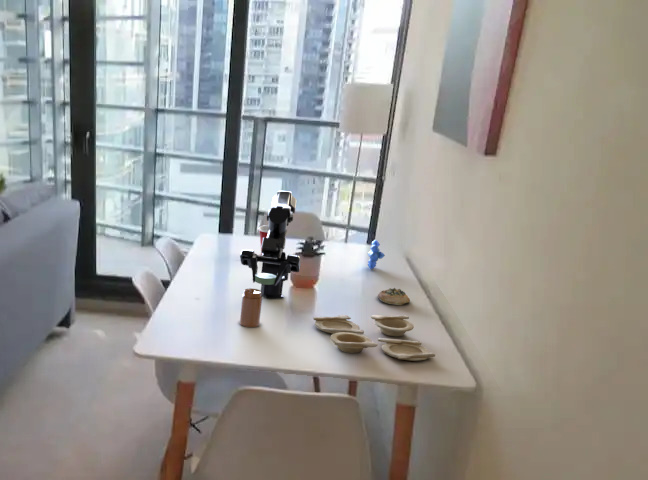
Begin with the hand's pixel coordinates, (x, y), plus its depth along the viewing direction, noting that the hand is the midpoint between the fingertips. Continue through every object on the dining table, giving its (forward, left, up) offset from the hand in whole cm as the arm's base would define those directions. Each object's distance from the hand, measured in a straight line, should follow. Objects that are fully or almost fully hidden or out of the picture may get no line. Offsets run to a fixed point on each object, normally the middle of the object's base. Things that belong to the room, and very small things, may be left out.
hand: (264, 283), depth 224 cm
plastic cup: (-37, -76, -11) cm, 85 cm away
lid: (-1, -1, +2) cm, 2 cm away
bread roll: (-54, -9, -11) cm, 56 cm away
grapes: (-72, -50, -11) cm, 89 cm away
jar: (+7, +6, -11) cm, 14 cm away
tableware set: (-23, +26, -11) cm, 37 cm away
